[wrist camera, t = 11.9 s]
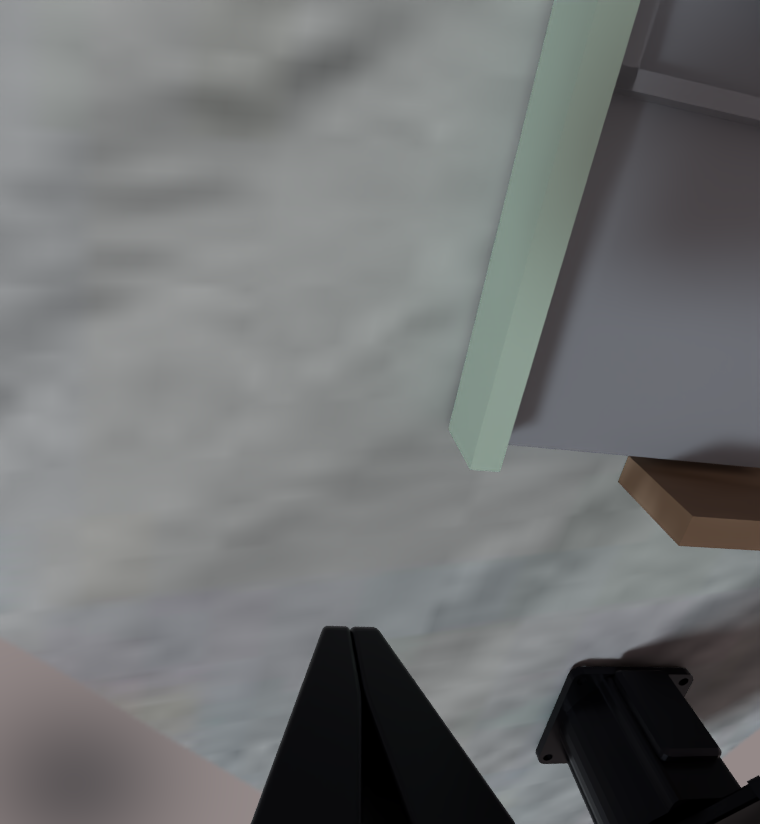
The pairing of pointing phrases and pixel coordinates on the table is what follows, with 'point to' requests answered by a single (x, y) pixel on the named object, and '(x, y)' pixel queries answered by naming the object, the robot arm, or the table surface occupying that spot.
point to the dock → (698, 500)
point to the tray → (627, 244)
